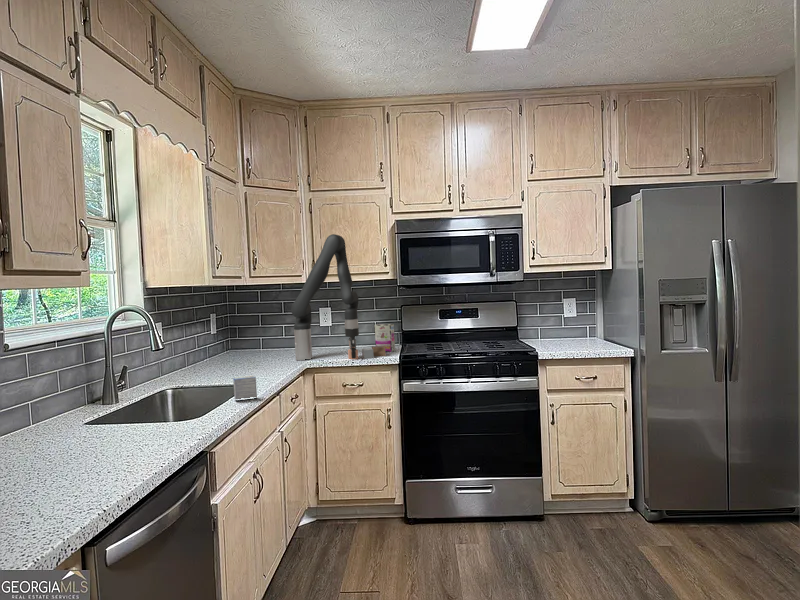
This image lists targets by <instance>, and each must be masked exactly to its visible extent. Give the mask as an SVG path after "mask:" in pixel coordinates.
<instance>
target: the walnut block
mask: <svg viewBox="0 0 800 600" xmlns="http://www.w3.org/2000/svg"><path fill="white" fill-rule="evenodd" d="M371 349H373V355H374V356H379V357H386V356H387V355H386V353H387V352H385V347H384V346H377V347H376V346H372V347H371Z"/></svg>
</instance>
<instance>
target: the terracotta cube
mask: <svg viewBox="0 0 800 600" xmlns="http://www.w3.org/2000/svg"><path fill="white" fill-rule="evenodd" d="M358 350H359V349H358V348H356V351H355V352H356V358H352V354H351V349H350V348H349V349H347V353H348V354H347V355H348V357H347V358H348V360H349V359H351V360H359V351H358Z"/></svg>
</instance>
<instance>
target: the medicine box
mask: <svg viewBox="0 0 800 600" xmlns="http://www.w3.org/2000/svg"><path fill="white" fill-rule="evenodd" d="M232 379H233V393H234V400H235V399H241V398H250V397H257V398H258V394H257V393H258V391H257V389H258V388H257V377H256V376H255V375H254V374H252V375H244V376H236V377H233V378H232Z"/></svg>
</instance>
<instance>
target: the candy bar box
mask: <svg viewBox="0 0 800 600" xmlns="http://www.w3.org/2000/svg"><path fill="white" fill-rule="evenodd" d="M395 337H396V335H395V324H394V323H378V324H374V341H375V342H374V343H375V347H377V346H384V347H385V351H387V352H386V353H393V352H396V343H395V342H396V339H395ZM392 351H393V352H392Z"/></svg>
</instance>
